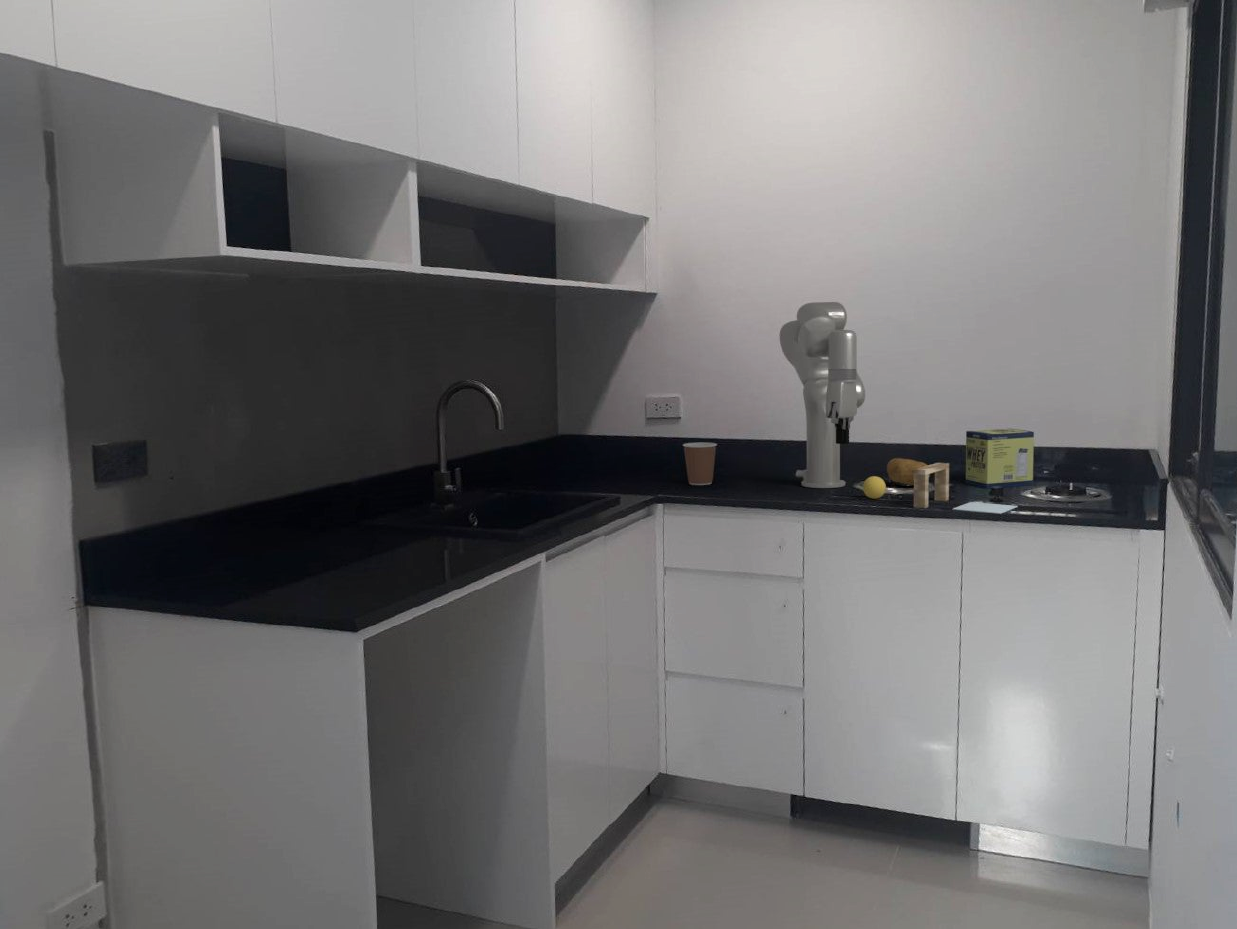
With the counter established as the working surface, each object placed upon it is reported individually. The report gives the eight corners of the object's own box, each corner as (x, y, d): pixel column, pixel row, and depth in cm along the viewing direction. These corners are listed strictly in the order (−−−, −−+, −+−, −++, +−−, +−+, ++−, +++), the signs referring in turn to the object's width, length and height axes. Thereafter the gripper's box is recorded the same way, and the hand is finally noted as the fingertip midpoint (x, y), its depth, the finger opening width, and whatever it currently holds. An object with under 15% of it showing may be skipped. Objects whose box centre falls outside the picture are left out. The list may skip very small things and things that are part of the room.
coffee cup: (723, 482, 318) (722, 443, 316) (707, 486, 309) (707, 446, 308) (693, 480, 323) (692, 441, 322) (677, 484, 315) (676, 445, 313)
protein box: (964, 484, 301) (965, 430, 299) (1010, 480, 306) (1011, 428, 304) (986, 489, 291) (987, 433, 289) (1034, 485, 296) (1035, 430, 294)
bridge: (913, 507, 265) (914, 469, 264) (937, 499, 277) (938, 462, 275) (924, 508, 263) (925, 470, 262) (948, 499, 275) (949, 463, 273)
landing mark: (952, 509, 260) (952, 508, 260) (970, 502, 269) (970, 502, 269) (1000, 513, 253) (1000, 513, 253) (1017, 506, 262) (1017, 505, 262)
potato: (914, 491, 290) (915, 463, 289) (878, 485, 303) (878, 458, 302) (939, 488, 295) (940, 460, 294) (903, 482, 307) (903, 455, 306)
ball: (858, 499, 280) (858, 477, 279) (869, 496, 284) (869, 474, 283) (879, 501, 276) (879, 478, 275) (889, 497, 280) (889, 475, 280)
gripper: (842, 375, 290) (843, 440, 292) (816, 377, 279) (816, 445, 281) (867, 375, 285) (867, 441, 287) (841, 377, 274) (841, 446, 276)
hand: (842, 443), depth 284 cm, fingers closed
